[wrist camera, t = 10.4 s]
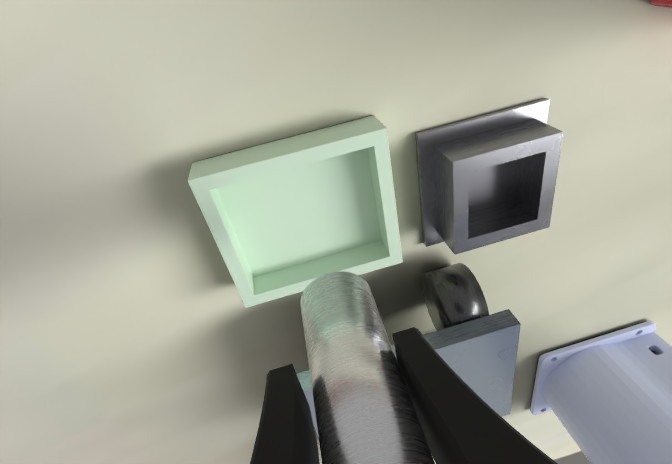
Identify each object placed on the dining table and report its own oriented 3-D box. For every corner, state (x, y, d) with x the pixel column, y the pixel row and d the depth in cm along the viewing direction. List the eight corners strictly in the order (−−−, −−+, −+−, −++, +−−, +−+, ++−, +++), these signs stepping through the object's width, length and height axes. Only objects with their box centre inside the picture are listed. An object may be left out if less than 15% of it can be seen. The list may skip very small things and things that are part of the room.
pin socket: (545, 98, 18) (581, 111, 16) (532, 212, 22) (560, 234, 20) (415, 133, 18) (436, 151, 16) (423, 243, 21) (441, 269, 19)
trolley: (470, 244, 22) (522, 304, 18) (469, 359, 28) (508, 425, 24) (281, 298, 21) (292, 374, 17) (322, 405, 27) (336, 480, 23)
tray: (373, 115, 17) (386, 127, 15) (391, 242, 21) (402, 262, 19) (192, 162, 16) (187, 180, 15) (245, 283, 20) (245, 307, 19)
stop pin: (372, 253, 12) (510, 578, 6) (384, 317, 14) (501, 624, 7) (280, 278, 12) (310, 639, 6) (303, 340, 14) (348, 671, 7)
